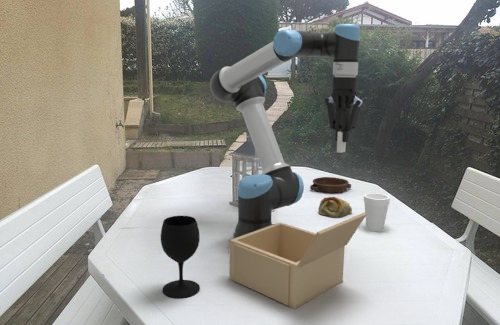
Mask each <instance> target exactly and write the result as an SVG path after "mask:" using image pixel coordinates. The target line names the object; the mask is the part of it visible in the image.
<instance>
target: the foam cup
mask: <svg viewBox="0 0 500 325" xmlns="http://www.w3.org/2000/svg"><path fill="white" fill-rule="evenodd" d="M390 199H391V197H390V196H389V195H387V194H385V193H379V192H378V193H377V192H370V193H365V194H364V195H363V203H364V212H365V213H366V214H367V215H366V216H365V226H366V227H365V228H366V230H367V231H370V232H373V233H376V232H377V233H380V232H382V231H384V229H385V228H384V227H385V222H386V218H387V213H388V208H389V205H390Z"/></svg>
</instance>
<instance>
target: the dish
mask: <svg viewBox="0 0 500 325" xmlns="http://www.w3.org/2000/svg"><path fill="white" fill-rule="evenodd" d="M309 186H310V187H309V188H310V190H312V191H319V192H322V193H325V192H326V193H327V194H337V193H339V194H340V193H342V192H345V191H346V190H347V189H351V188H352V184H351V183H350V182H349V180H347V179H345V178H340V177H339V178H338V177H334V176H333V177H332V176H324V177H323V176H321V177H316V178H314V179H312V184H311V185H309ZM326 193H325V194H326Z"/></svg>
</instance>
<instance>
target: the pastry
mask: <svg viewBox="0 0 500 325" xmlns="http://www.w3.org/2000/svg"><path fill="white" fill-rule="evenodd" d="M352 211H353V208H352V206H351V205H350V203H349V202H347V201H346V200H345V199H341V198H339V197H336V196H328V197H324V198H323V199H321V200H320V203H319V206H318V211H317V212H318V215H320V216H323V217H330V218H342V217H346V216H350V215H352V214H353V212H352Z"/></svg>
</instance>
